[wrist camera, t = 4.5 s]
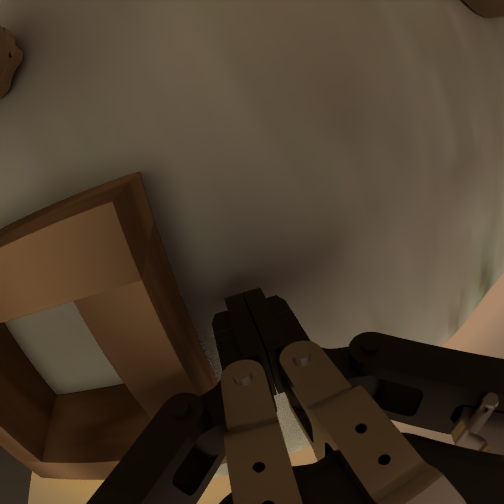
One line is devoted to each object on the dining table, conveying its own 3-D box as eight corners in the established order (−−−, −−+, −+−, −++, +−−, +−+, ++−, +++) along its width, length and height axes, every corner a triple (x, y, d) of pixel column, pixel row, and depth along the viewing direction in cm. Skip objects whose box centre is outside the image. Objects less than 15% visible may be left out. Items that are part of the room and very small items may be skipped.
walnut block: (139, 171, 10) (112, 201, 6) (219, 386, 16) (238, 459, 11) (-53, 259, 9) (-105, 308, 4) (52, 416, 14) (41, 477, 9)
